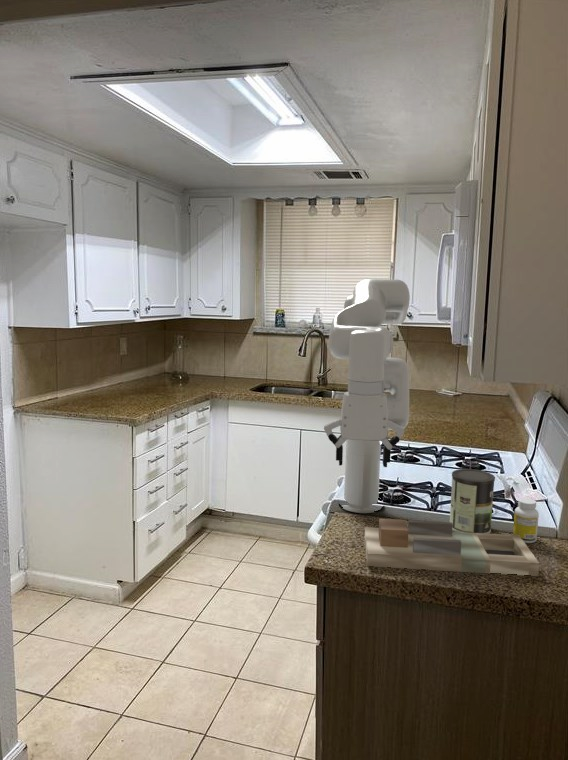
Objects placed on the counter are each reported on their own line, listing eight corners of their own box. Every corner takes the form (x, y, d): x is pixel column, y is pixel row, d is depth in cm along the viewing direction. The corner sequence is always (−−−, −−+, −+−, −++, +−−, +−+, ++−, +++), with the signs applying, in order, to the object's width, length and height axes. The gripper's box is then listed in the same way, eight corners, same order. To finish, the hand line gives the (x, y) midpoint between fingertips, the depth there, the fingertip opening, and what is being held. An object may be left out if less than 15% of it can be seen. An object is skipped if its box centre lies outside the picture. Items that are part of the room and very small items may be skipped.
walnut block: (378, 534, 135) (379, 518, 134) (404, 536, 134) (405, 519, 134) (380, 546, 129) (381, 529, 128) (407, 547, 128) (408, 530, 128)
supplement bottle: (518, 532, 145) (521, 495, 143) (540, 539, 141) (543, 500, 139) (508, 538, 141) (511, 500, 139) (530, 545, 137) (534, 506, 136)
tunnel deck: (364, 538, 140) (365, 515, 139) (518, 547, 136) (520, 523, 135) (367, 566, 126) (368, 540, 125) (538, 576, 123) (540, 549, 122)
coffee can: (487, 522, 151) (491, 470, 149) (493, 538, 141) (498, 483, 139) (447, 518, 153) (450, 467, 151) (450, 534, 143) (453, 479, 141)
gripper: (404, 385, 127) (400, 460, 130) (325, 383, 128) (323, 457, 131) (408, 392, 119) (404, 471, 122) (324, 389, 121) (322, 468, 124)
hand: (362, 464), depth 127 cm, fingers open, 9 cm apart
